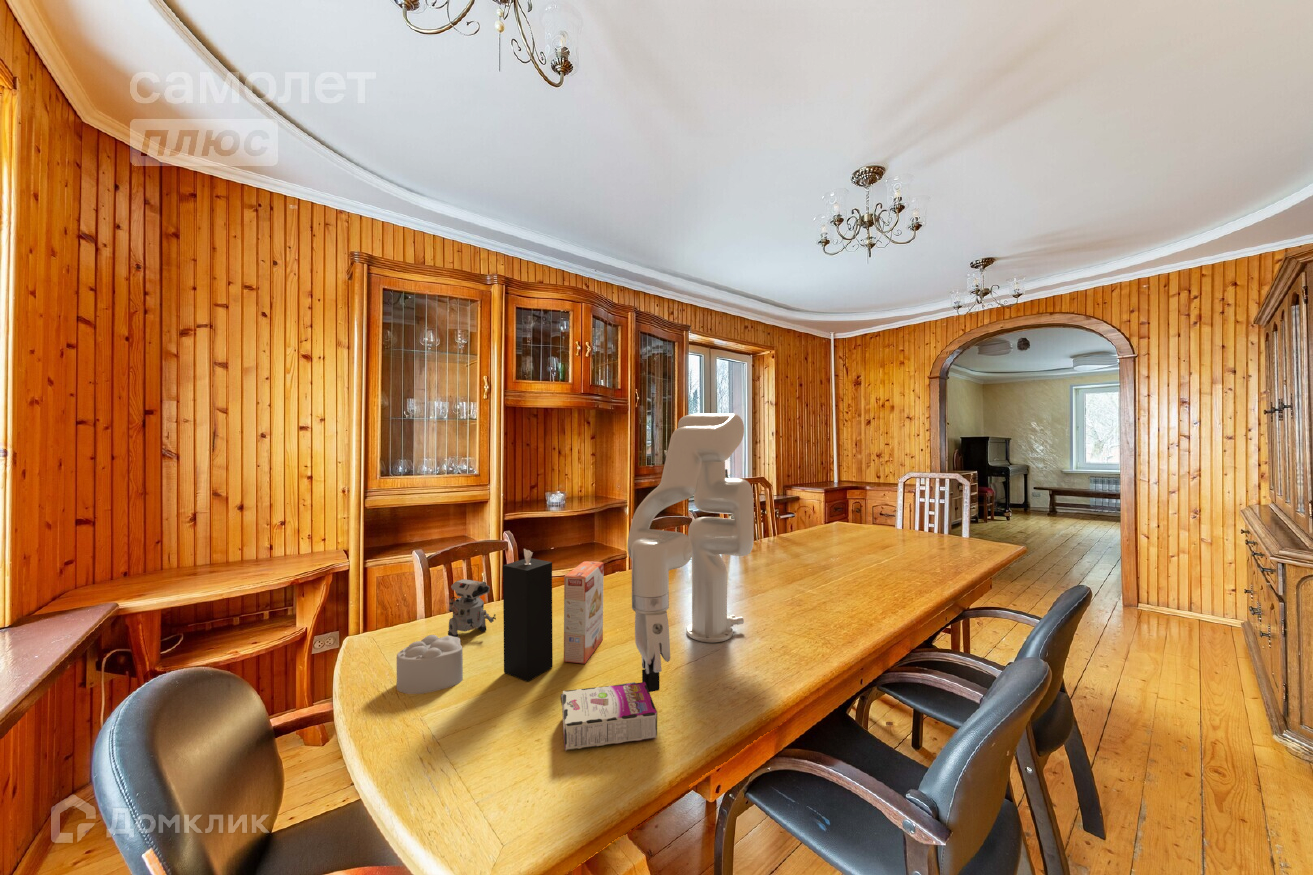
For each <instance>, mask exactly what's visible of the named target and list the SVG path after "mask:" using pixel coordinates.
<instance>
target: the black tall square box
mask: <svg viewBox="0 0 1313 875" xmlns="http://www.w3.org/2000/svg"><path fill="white" fill-rule="evenodd" d="M533 553H534V552H533V551H531V550H529V549H526V548H523V556H524V559H523V558H522V559H519V560H516V561H512V562H510V563H506V564H503V565H502V575H503V576H502V581H503V582H502V584H503V585H502V586H503V587H502V588H503V590H502V591H503V593H502V594H503V595H502V598H503V601H502V602H503V603H502V604H503V609H502V610H503V612H502V613H503V672H504V674H507V675H509V676H512V677H515V678H517V679H519V680H523V681H524V682H525V681H526V682H529V681H532V680H533V679H535V678H537V677H538V676H541V675H542V674H544V673H545V672H547V671H549V670H550V669H552V668H553V665H554V664H553V661H554V660H553V658H554V656H553V562H552V561H549V560H542V559H538V558H533Z"/></svg>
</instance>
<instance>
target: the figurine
mask: <svg viewBox="0 0 1313 875" xmlns="http://www.w3.org/2000/svg"><path fill="white" fill-rule="evenodd" d="M450 587H451V590H452V591H455V595H456V596H453V597H452V598H450V599H449V606H448V607H449V609H448V612H452V618H450V619H448V620H449V622H448V631H447V636H453V637H458V638H460V637H459V633H458V632H459V631H460V632H468V631H472V630H474V629H477V630H479V631H480V632H481V633H484V632H487V624H486V620H487V621H489V623H492V624H493V623H494V620H497V615H496V614H495V613H494V615H493V616H491V615H489V613H487V610H486V609H484V608H485V607H484V606H485V602H484V600H483V599H482V598H481V597H482V596H484V595H486V594H489V593H490V589H491V586H489V585H488V584H487V582H486V581H479V580H473V579H465V578H462V579H460V580H456V581H454V582H453V583H452V584H451V586H450ZM457 597H458V598H457ZM454 599H455V600H454Z"/></svg>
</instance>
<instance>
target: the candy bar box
mask: <svg viewBox="0 0 1313 875" xmlns="http://www.w3.org/2000/svg"><path fill="white" fill-rule="evenodd" d="M631 683H632V682H631ZM622 684H623V685H620V684H615V685H606V686H598V687H597V686H596V687H588V688H579V689H568V690H563V691H562V694H563V698H562V699H561V703H562V706H561V707H562V708H561V710H562V728H563V730H562V731H563V744H564V751H571V750H578V749H579V750H580V749H587V748H593V747H600V746H601V747H602V746H609V745H613V744H614V745H615V744H616V745H617V744H624V743H628V742H637V741H639V742H640V741H643V740H651V739H657V737H658V736H657V735H658V712H657V709H656V706H655V704H654V700H653V698H652V696H651V692H649V690H648V688H647V685H646V683H645V682H642V681H641V682H635V683H632V684H626V683H622Z"/></svg>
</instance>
